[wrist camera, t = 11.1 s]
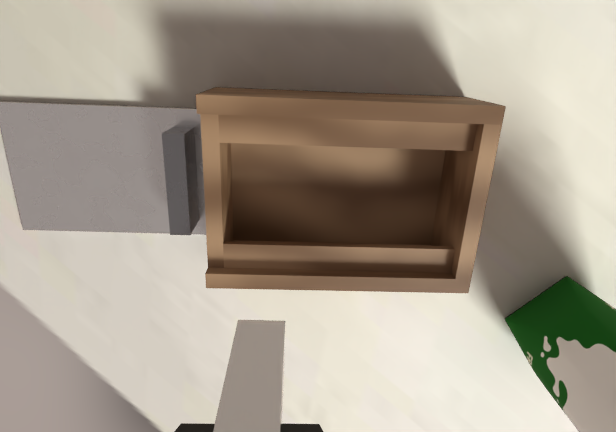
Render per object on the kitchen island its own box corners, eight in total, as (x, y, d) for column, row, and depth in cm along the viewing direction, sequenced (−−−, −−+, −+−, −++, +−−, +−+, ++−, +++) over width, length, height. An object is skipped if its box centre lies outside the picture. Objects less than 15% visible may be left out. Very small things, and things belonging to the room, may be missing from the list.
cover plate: (3, 100, 33) (-38, 106, 29) (217, 108, 34) (206, 115, 30) (29, 225, 37) (-4, 246, 33) (221, 230, 38) (212, 251, 34)
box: (215, 87, 33) (195, 94, 26) (465, 96, 34) (505, 106, 27) (221, 248, 38) (206, 288, 31) (439, 253, 39) (468, 293, 32)
